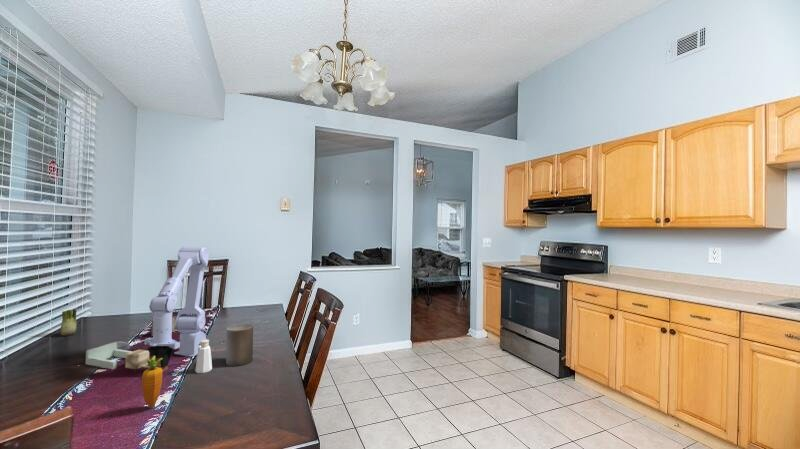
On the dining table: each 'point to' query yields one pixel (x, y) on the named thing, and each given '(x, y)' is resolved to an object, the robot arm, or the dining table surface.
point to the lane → (105, 356)
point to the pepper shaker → (204, 357)
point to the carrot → (152, 382)
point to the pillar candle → (239, 344)
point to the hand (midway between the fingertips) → (161, 365)
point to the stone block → (118, 345)
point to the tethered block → (140, 360)
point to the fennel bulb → (68, 322)
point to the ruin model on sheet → (172, 325)
